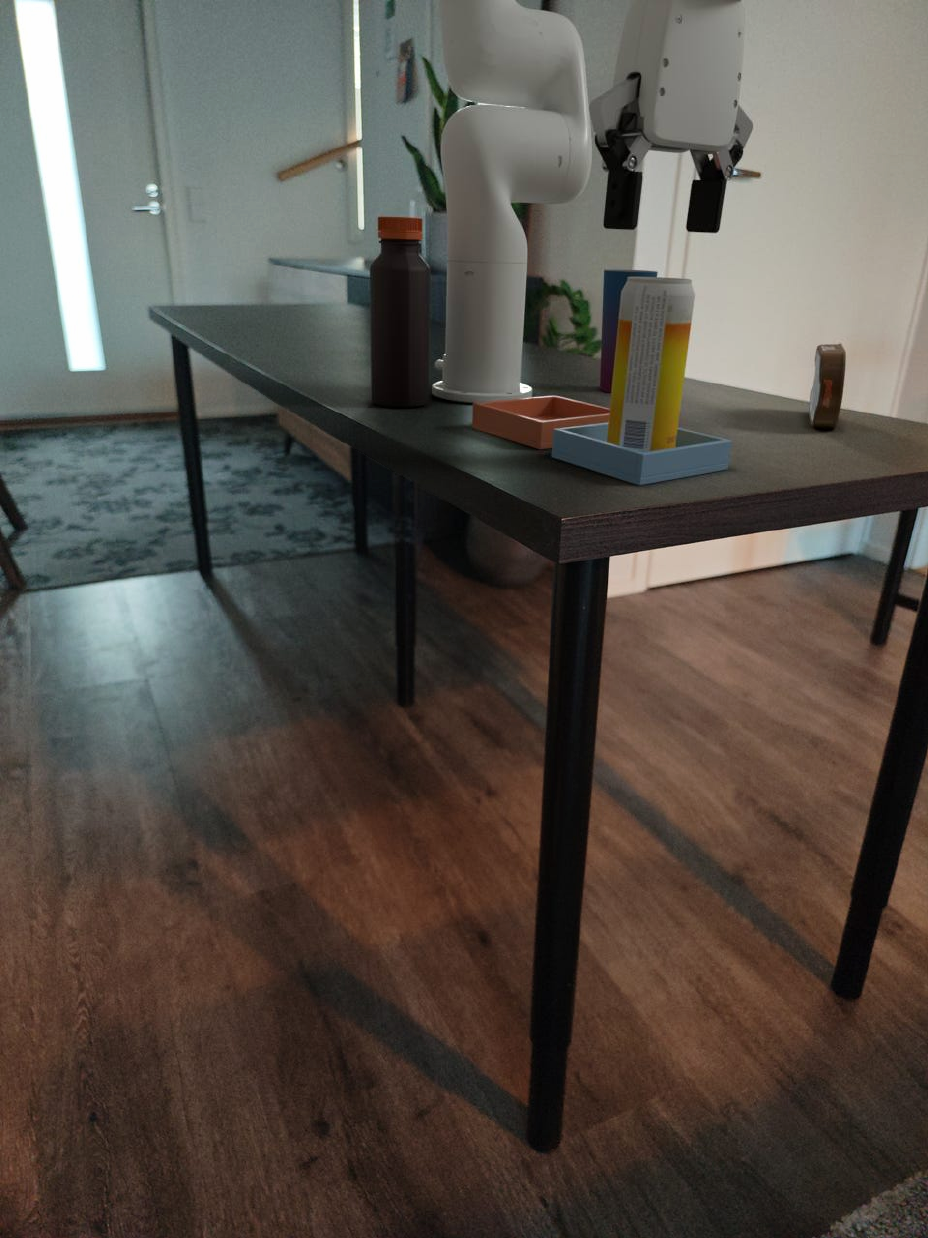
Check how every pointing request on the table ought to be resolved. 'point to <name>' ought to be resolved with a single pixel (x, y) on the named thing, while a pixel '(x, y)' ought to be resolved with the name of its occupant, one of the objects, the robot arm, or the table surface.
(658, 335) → the beer can
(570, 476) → the table surface
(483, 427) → the terracotta tray
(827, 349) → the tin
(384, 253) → the bottle
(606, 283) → the cup
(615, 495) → the table surface
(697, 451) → the blue tray
